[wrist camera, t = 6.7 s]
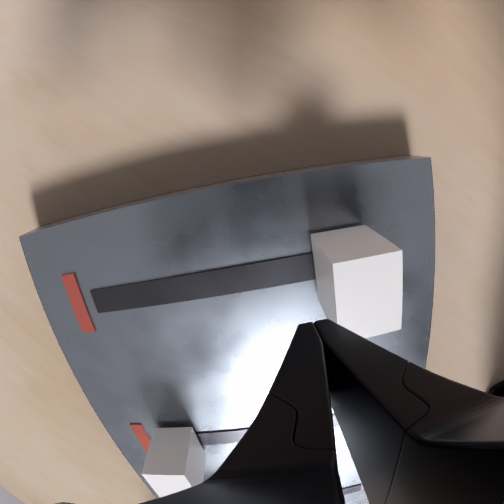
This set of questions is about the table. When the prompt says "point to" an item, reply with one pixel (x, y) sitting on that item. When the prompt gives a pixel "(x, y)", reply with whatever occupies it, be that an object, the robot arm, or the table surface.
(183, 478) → the handle mid
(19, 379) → the table surface
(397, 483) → the robot arm
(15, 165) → the table surface
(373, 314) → the handle
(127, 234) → the panel
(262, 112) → the table surface
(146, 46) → the table surface
